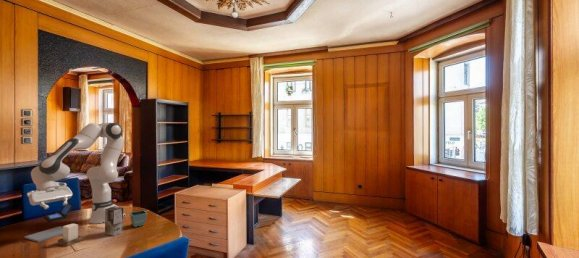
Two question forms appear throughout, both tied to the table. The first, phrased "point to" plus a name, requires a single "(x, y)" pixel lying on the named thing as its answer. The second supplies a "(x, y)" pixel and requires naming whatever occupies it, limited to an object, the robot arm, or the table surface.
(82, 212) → the table surface
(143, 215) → the flower pot
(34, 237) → the slate board
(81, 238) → the walnut pocket
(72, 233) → the cream block
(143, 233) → the table surface
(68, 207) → the handheld game console
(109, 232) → the coffee box
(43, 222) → the table surface
